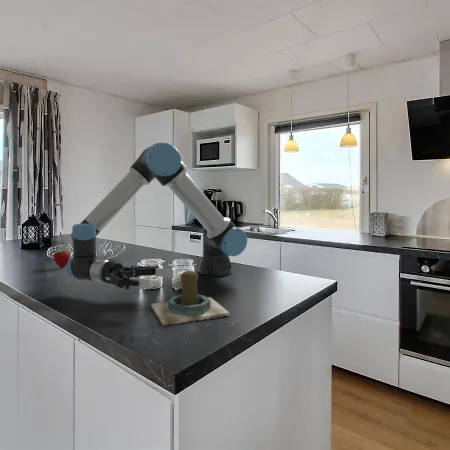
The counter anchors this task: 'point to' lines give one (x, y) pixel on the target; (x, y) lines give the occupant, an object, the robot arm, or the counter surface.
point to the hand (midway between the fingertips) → (161, 278)
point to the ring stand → (187, 310)
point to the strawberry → (61, 258)
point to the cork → (189, 288)
